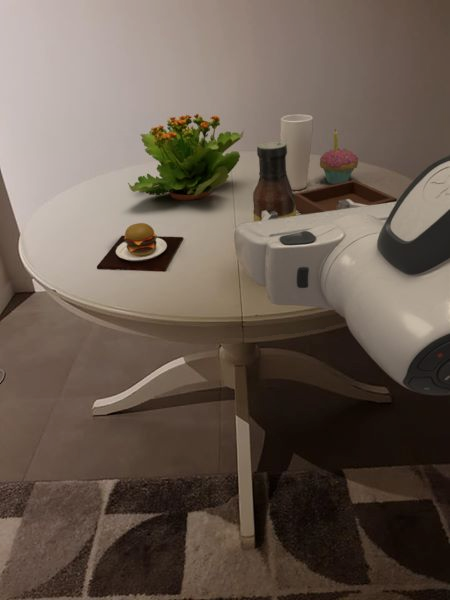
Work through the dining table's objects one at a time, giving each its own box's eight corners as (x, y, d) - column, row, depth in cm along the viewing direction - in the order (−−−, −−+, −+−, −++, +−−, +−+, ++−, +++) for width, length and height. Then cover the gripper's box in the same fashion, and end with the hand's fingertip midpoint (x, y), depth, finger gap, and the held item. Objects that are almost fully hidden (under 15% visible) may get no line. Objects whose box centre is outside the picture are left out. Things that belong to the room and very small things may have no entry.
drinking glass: (294, 194, 102) (296, 123, 94) (274, 187, 107) (273, 118, 99) (316, 186, 105) (320, 117, 97) (295, 179, 110) (297, 112, 102)
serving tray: (353, 193, 101) (354, 179, 99) (394, 213, 90) (397, 198, 89) (292, 208, 96) (293, 193, 94) (330, 231, 86) (331, 215, 84)
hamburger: (122, 237, 89) (116, 210, 86) (183, 239, 87) (180, 211, 84) (97, 268, 79) (90, 239, 76) (165, 271, 77) (161, 240, 74)
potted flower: (155, 175, 119) (144, 102, 110) (247, 173, 116) (245, 97, 107) (129, 214, 98) (113, 128, 89) (241, 212, 96) (237, 123, 86)
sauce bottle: (304, 270, 74) (308, 142, 63) (278, 286, 71) (278, 153, 60) (272, 258, 78) (271, 136, 67) (246, 272, 75) (241, 146, 64)
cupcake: (341, 190, 103) (345, 133, 96) (310, 182, 108) (312, 128, 102) (363, 179, 107) (369, 125, 101) (333, 172, 113) (336, 120, 106)
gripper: (460, 217, 45) (388, 174, 56) (254, 248, 42) (221, 196, 53) (447, 274, 48) (381, 223, 60) (255, 307, 45) (225, 246, 56)
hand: (305, 210), depth 56 cm, fingers open, 8 cm apart
